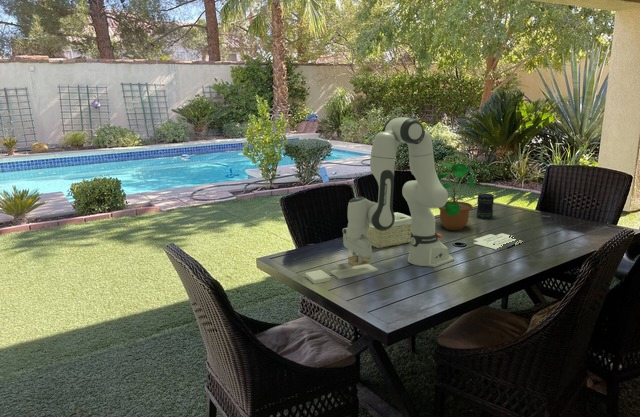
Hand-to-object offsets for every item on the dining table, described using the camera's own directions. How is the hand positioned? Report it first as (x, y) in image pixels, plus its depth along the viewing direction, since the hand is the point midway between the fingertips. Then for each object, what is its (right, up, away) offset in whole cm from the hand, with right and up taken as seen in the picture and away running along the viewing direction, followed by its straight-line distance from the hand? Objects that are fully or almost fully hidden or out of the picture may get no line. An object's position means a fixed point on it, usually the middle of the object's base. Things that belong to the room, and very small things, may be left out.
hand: (357, 261), depth 217 cm
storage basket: (+20, +5, +42) cm, 47 cm away
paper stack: (+80, +6, +40) cm, 90 cm away
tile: (-15, -6, -5) cm, 16 cm away
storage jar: (+89, +18, +88) cm, 127 cm away
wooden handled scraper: (-2, -2, -1) cm, 3 cm away
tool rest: (-2, -5, 0) cm, 5 cm away
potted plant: (+60, +12, +67) cm, 90 cm away
